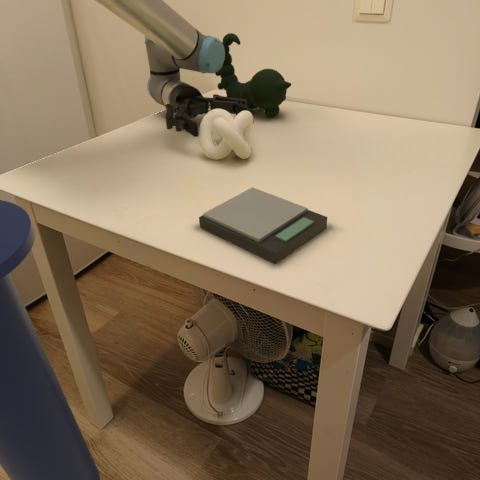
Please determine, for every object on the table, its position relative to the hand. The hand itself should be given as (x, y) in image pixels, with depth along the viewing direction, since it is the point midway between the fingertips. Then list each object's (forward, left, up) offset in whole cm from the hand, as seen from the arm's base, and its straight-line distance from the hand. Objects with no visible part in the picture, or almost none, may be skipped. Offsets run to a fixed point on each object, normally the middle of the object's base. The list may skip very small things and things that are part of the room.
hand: (224, 123), depth 96 cm
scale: (+27, -20, -6) cm, 34 cm away
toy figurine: (-13, +23, -6) cm, 27 cm away
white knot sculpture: (+2, -1, -6) cm, 7 cm away
